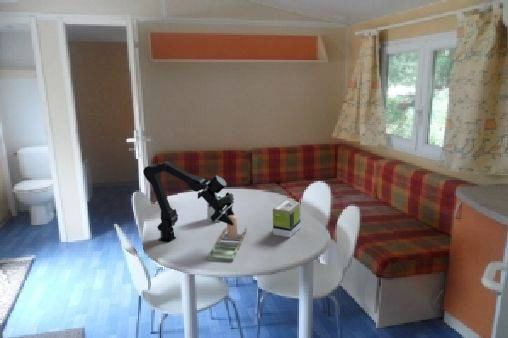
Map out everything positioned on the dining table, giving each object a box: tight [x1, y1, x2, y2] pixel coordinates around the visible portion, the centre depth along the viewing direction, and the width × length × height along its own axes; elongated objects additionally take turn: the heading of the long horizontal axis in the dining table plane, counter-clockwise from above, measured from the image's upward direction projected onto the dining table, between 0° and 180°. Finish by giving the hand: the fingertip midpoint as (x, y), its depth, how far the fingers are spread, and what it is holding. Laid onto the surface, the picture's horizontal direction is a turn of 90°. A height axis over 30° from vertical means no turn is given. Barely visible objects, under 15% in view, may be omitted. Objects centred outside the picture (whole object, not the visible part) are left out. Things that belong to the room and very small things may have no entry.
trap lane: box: [207, 227, 248, 263], centre depth 189 cm, size 36×12×1 cm, turn 171°
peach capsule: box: [226, 214, 238, 238], centre depth 184 cm, size 5×5×10 cm
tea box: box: [272, 199, 302, 238], centre depth 202 cm, size 15×10×15 cm, turn 152°
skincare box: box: [206, 193, 224, 223], centre depth 219 cm, size 8×6×15 cm
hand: (234, 222), depth 183 cm, fingers closed on peach capsule, 5 cm apart
